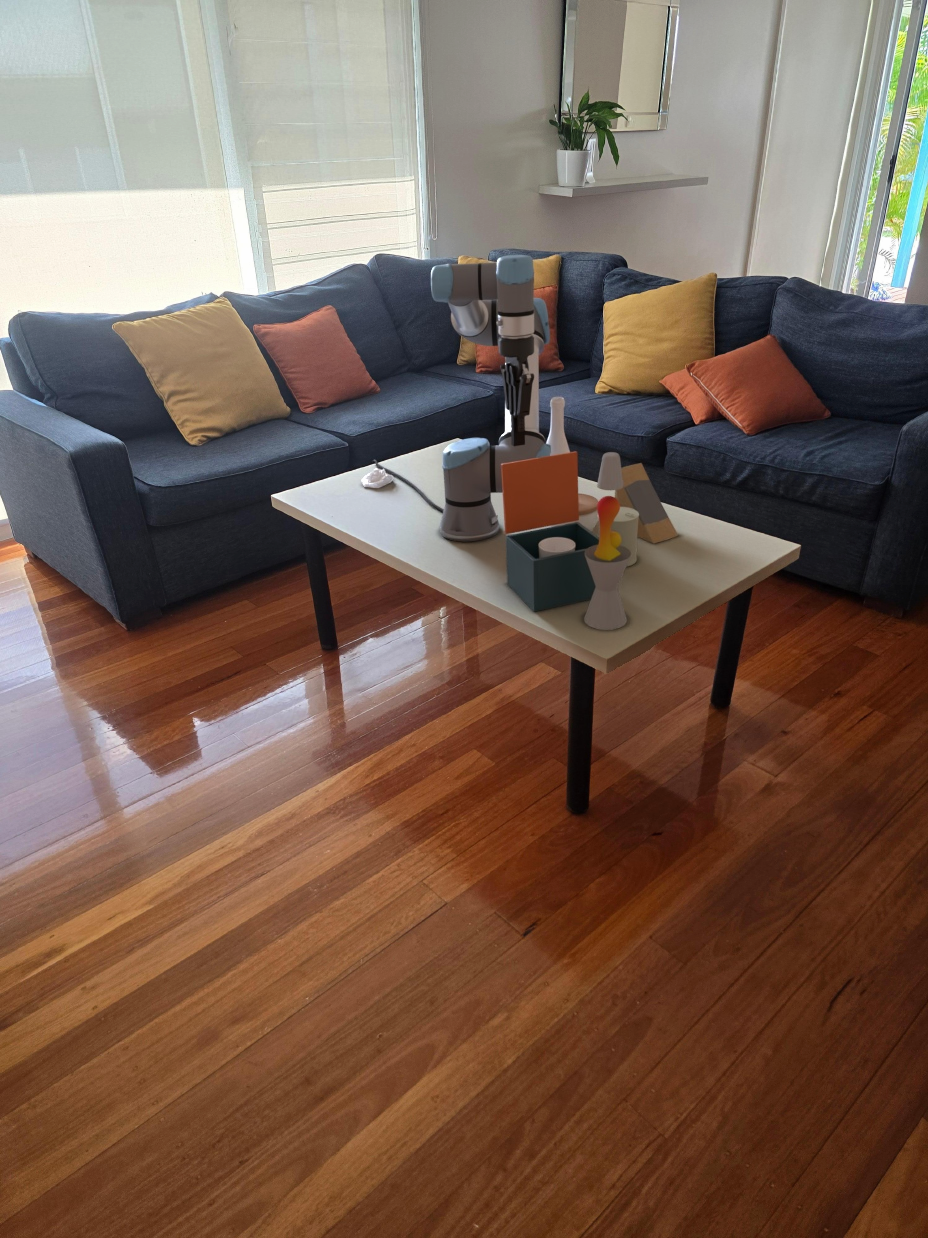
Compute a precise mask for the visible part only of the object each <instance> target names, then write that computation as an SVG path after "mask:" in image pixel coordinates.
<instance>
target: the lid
mask: <svg viewBox="0 0 928 1238" xmlns="http://www.w3.org/2000/svg"><path fill="white" fill-rule="evenodd" d="M578 461H579V460H578V451H576V450H575V451H570V452H569V453H563V454H557V455H551V456H545V457H539V458H533V459H527V460H521V461H515V462H509V463H503V464H501V475H502V491H503V493H502V501H503V502H502V504H503V505H502V506H503V521H504V534H505V535H511V534H516V533H522V532H527V531H532V530H537V529H542V528H547V527H551V526H552V525H557V524H562V523H567V522H572V521H577V520H579V502H578V493H579V468H578V467H579V465H578Z"/></svg>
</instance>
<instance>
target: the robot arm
mask: <svg viewBox="0 0 928 1238" xmlns="http://www.w3.org/2000/svg"><path fill="white" fill-rule="evenodd" d="M430 288H431V296H432V299H433V301H435V302H437V303H447V305H448V307H449V309H450V311H451V313H450V321H451V325H452V327H453V329H454V331H455V332H456V333H457V334H458V335H459V336H461V338H463V339H464V340H467V341H469V342H470V343H473V344H476V345H479V346H483V347H484V346H485V347H498V354H499V355H500V356H501V357H504V358H505V359H504V364H500V372H501V375H502V376H501V377H502V384H503V385H502V386H503V393H504V433H503V434H501V436H500V437H499V439H498V445H490V442H489V440H488V439H487V438H484V437H470V438H469V437H468V438H464V439H460V440H458V441H455V442H452V443H450V444H448V445H447V446H446V447H445V448H444V449H443V451H442V466H441V467H442V469H443V470H442V473H443V486H444V487H443V488H444V508H442V507H441V506H438V505H437V504H436V503H434V502H432V501H431V500H430V499H429V498H428V497H427V495H426V494H425V493H424V492H423V491H421V489H420V488H418V487H417V486H416V485H415V484H413V483H412V482H411V481H410V480H408V479H406V478H405V477H404V476H402V475H400V474H398V473H396V472H395V471H393V470H390V469H388V468H387V467H384V466H382V465H381V464H379V463H378V461H377V460H376V459H373V460H372V463H373V464H375V465H376V467H378V469H381V470H383V469H384V470H385V471H386V473H389V474H390V475H392V476H395V477H396V478H398V479H400V480H401V481H403V482H405V483H406V484H407V485H409V486H410V487H412V488H413V489H414V490H415V491H416V492H417V493H418V494H420V495H421V496H422V498H423V499H424V500H425V501H426V502H427V504H429V505H431V506H432V507H433V508H435V509H436V510H438V511H440V512H442V514H441V519H440V522H439V533H440V535H441V536H442V537H443V538H445V539H447V540H450V541H453V542H460V543H461V542H462V543H472V542H480V541H484V540H488V539H490V538H492V537H495V535H497V534H498V533H499V532H500V523H499V519H498V517H499V516H498V514H497V513H496V510H495V508H494V505H493V502H492V496H491V495H492V494H496V493H497V494H499V493H500V494H501V493H502V494H503V491H502V475H501V464H503V463H509V462H515V461H521V460H527V459H533V458H539V457H545V456H551V445H549V444H546V443H547V442H546V438H545V436H544V435H543V434H542V433H541V432H540V388H539V387H540V383H539V380H540V379H539V377H540V376H539V375H540V373H539V370H540V369H539V365H540V364H539V363H540V362H539V359H540V358H539V356H540V355H541V354H542V353H543V352H544V349H545V346H546V345H548V344H549V343H550V340H551V339H550V338H551V337H550V336H551V335H550V334H551V331H550V324H549V313H548V308H547V304H546V301H545V300H544V299H542V298H540V297H535V268H534V260H533V257H532V256H530V255H526V254H510V255H504V256H499V258H497V261H496V262H473V263H445V264H439V265H438V264H437V265H434V266H433V267H432V269H431V272H430Z"/></svg>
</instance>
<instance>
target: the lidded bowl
mask: <svg viewBox="0 0 928 1238" xmlns="http://www.w3.org/2000/svg"><path fill="white" fill-rule="evenodd" d="M578 502H579V520H577V521H572V522H567V523H562V524H557V525H552V526H550V527H554V526H559V525H564V524H570V523H575V522H579V523H580V524H582V525H583V526H585V527H586V528H587V529H589V530H590V531H591V532H593V530H594V529H595V527H596V524H597V522H598V518H599V516H598V511H597V504H598V502H599V500H598V499H597V498H596V497H595V496H593V495H590V494H585V493H579V492H578Z"/></svg>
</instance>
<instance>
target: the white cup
mask: <svg viewBox="0 0 928 1238" xmlns="http://www.w3.org/2000/svg"><path fill="white" fill-rule="evenodd" d="M572 551H575V542H574V541H572V540H570V539H567V538H562V537H552V538H547V539H544V540H542V541H540V542H539V558H543V557H548V556H553V555H558V554H563V553H567V552H572Z"/></svg>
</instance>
